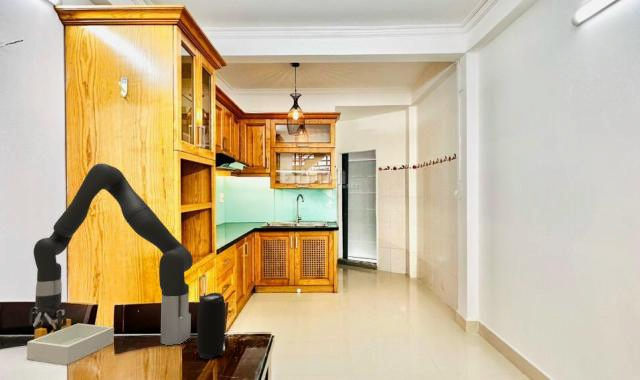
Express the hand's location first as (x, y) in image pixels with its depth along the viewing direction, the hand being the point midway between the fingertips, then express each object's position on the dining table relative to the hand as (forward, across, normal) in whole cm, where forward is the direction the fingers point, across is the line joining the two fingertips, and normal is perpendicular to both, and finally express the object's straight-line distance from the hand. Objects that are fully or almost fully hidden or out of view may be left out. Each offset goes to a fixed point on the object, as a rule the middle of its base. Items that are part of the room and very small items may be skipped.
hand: (47, 337), depth 129 cm
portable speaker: (+2, -63, -5) cm, 63 cm away
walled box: (+1, -16, +4) cm, 17 cm away
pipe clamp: (+2, -2, 0) cm, 2 cm away
